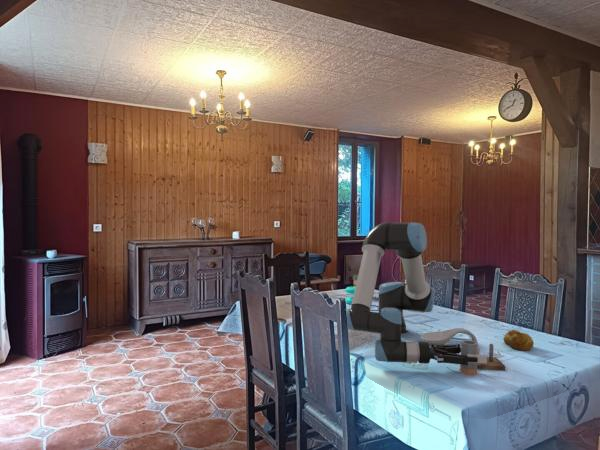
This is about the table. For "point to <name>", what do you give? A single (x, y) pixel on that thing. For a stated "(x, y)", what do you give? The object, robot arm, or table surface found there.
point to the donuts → (351, 291)
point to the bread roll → (518, 340)
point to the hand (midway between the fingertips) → (482, 355)
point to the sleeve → (471, 349)
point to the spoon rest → (444, 336)
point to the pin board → (491, 362)
